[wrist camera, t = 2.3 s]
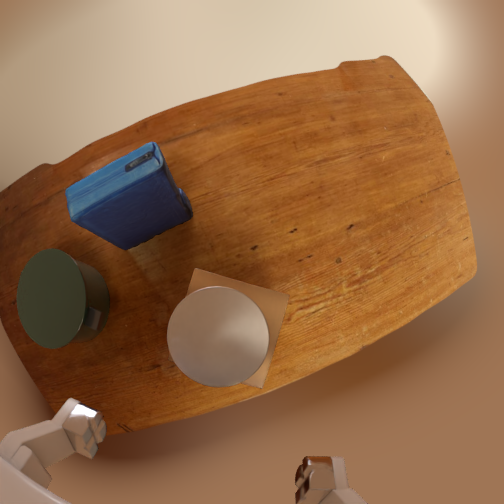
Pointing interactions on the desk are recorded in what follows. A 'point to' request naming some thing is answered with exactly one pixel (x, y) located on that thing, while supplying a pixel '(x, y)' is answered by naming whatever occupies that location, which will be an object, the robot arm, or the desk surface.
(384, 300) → the desk surface
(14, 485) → the robot arm
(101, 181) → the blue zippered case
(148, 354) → the desk surface
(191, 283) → the block
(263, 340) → the can
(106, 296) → the pot
